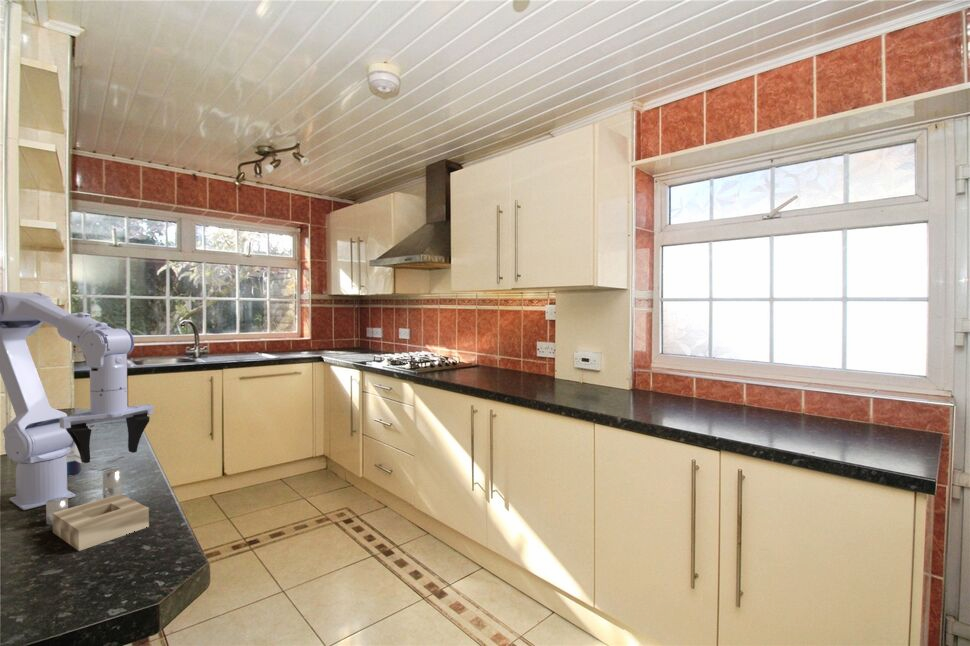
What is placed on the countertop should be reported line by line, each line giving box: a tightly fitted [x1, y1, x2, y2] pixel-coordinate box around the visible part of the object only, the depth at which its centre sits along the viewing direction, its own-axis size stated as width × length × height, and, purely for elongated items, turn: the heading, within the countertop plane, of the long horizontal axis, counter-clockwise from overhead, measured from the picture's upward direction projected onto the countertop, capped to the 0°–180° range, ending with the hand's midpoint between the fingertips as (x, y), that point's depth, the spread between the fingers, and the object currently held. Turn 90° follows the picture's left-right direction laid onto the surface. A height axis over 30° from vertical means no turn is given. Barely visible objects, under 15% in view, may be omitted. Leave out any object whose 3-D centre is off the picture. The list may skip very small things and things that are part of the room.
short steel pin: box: [45, 497, 69, 526], centre depth 85 cm, size 3×3×4 cm
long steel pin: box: [102, 467, 123, 499], centre depth 93 cm, size 3×3×7 cm
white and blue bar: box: [67, 444, 84, 477], centre depth 118 cm, size 5×7×25 cm
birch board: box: [52, 493, 150, 552], centre depth 82 cm, size 12×10×4 cm
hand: (109, 456), depth 91 cm, fingers open, 7 cm apart
